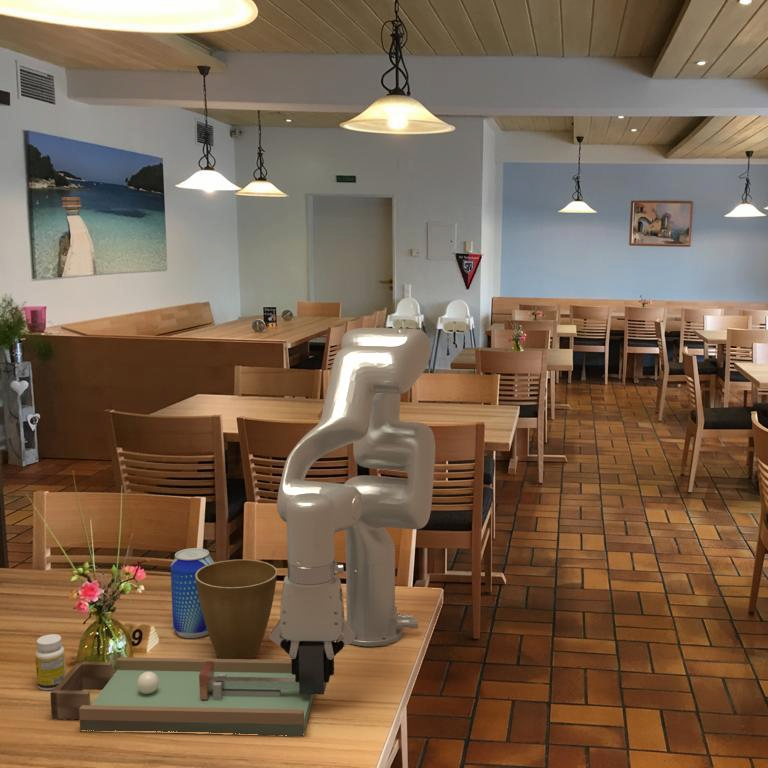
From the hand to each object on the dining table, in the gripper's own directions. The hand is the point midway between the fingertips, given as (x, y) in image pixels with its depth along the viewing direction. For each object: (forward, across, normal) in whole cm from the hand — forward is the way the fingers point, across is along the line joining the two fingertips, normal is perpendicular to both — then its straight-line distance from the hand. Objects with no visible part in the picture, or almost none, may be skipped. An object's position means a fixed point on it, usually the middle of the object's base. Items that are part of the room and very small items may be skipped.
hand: (313, 677), depth 144 cm
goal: (+5, +38, 0) cm, 39 cm away
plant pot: (+5, +16, -19) cm, 26 cm away
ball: (+1, +28, 0) cm, 28 cm away
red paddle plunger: (+3, +8, 0) cm, 9 cm away
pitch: (+5, +18, 0) cm, 19 cm away
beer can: (+5, +28, -29) cm, 40 cm away
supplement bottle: (+5, +46, -6) cm, 47 cm away
